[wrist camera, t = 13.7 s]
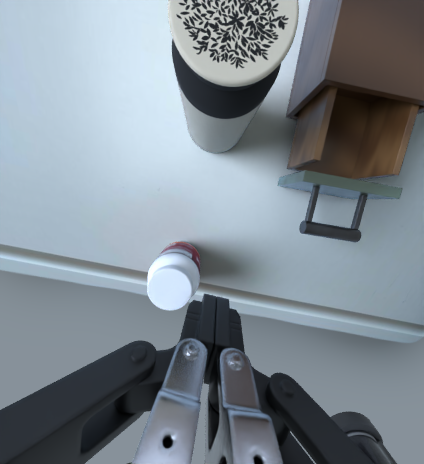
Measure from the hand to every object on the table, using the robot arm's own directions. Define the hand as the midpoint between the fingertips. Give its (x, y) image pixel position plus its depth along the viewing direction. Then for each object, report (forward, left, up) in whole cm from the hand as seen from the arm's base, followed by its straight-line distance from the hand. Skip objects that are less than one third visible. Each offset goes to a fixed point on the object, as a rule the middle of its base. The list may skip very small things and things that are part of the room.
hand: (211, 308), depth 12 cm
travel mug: (+1, -17, -20) cm, 26 cm away
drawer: (-14, -14, -19) cm, 28 cm away
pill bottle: (+3, +4, -20) cm, 21 cm away
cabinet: (-15, -27, -20) cm, 36 cm away
